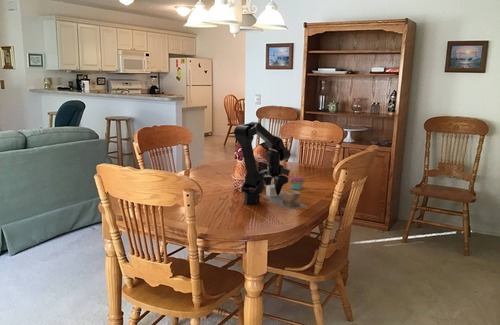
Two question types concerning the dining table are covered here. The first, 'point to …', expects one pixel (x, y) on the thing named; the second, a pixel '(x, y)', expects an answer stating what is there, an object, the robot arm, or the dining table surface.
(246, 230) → the dining table surface
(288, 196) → the cube
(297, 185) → the cupcake
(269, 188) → the flat grey tray
